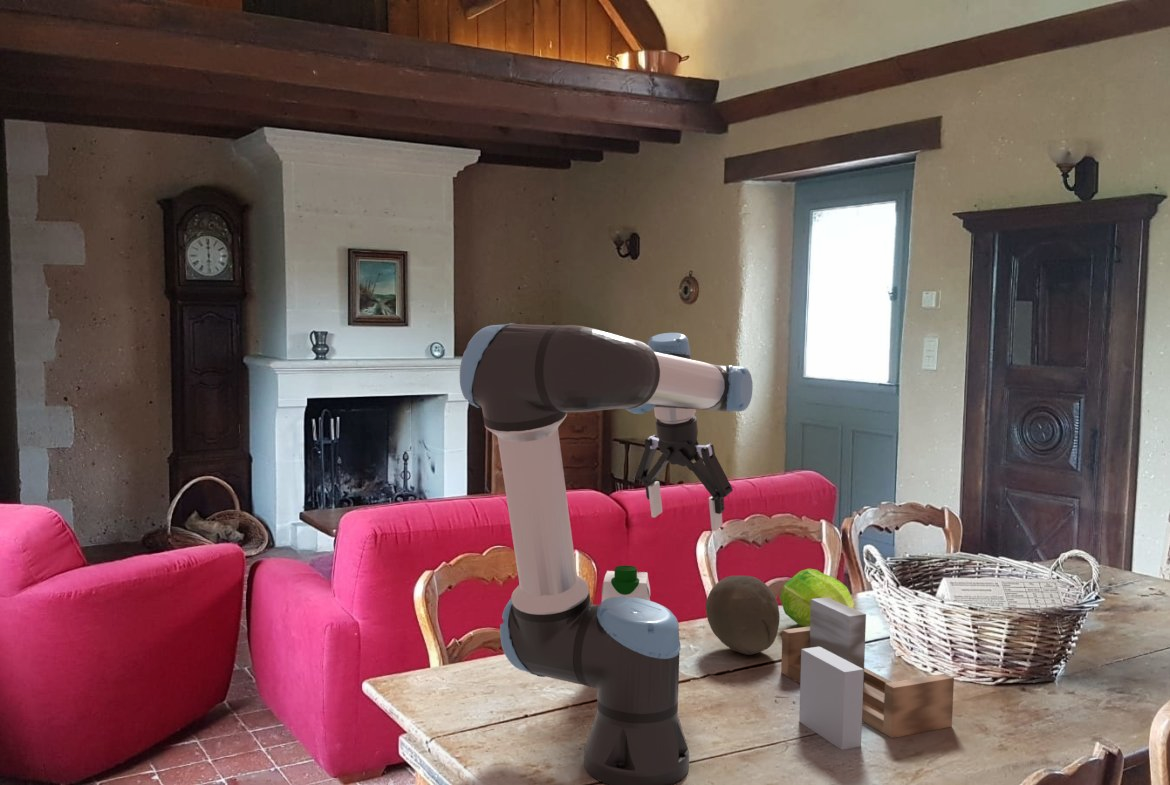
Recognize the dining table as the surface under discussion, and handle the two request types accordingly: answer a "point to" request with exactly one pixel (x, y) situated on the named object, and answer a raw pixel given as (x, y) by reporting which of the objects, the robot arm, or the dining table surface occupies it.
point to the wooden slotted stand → (870, 673)
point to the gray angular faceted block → (831, 697)
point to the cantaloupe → (743, 614)
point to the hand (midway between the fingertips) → (686, 521)
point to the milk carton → (626, 583)
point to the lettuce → (811, 594)
